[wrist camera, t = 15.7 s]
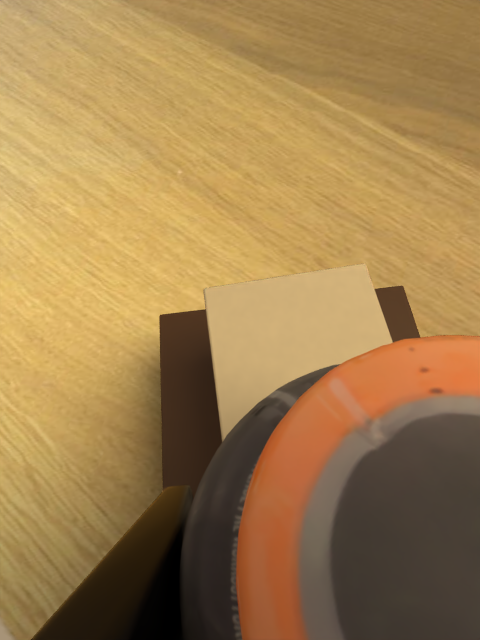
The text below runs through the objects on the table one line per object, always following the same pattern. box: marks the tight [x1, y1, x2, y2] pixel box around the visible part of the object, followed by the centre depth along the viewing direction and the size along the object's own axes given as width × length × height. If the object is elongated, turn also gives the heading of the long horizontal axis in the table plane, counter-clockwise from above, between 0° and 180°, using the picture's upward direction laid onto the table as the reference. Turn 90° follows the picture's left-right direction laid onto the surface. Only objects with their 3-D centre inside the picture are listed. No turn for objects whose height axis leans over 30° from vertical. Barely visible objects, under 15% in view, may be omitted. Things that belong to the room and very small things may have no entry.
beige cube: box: [204, 264, 393, 442], centre depth 15 cm, size 5×5×5 cm
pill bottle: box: [179, 335, 480, 640], centre depth 8 cm, size 6×6×11 cm
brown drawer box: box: [160, 286, 420, 499], centre depth 18 cm, size 12×10×5 cm
